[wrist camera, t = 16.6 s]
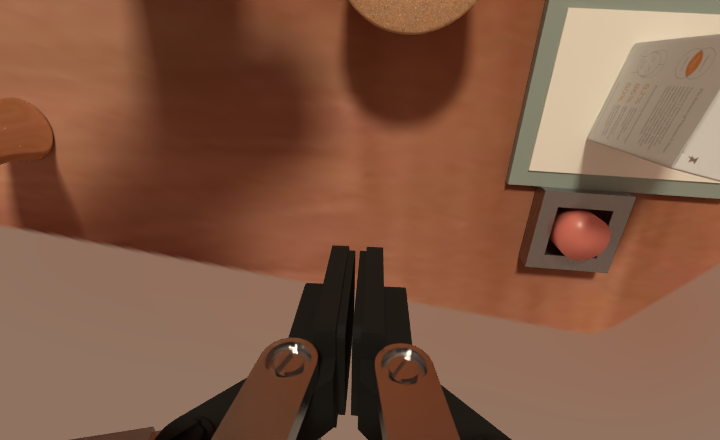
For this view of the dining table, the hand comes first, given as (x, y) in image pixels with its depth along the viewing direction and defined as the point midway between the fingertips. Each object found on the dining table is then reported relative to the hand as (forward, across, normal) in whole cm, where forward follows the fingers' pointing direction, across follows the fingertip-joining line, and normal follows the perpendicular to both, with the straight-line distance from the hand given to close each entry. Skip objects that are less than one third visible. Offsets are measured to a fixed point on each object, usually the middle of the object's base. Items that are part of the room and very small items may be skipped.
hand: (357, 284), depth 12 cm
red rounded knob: (+23, -20, +8) cm, 31 cm away
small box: (+23, -22, -4) cm, 32 cm away
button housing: (+23, -20, +8) cm, 32 cm away
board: (+24, -23, -4) cm, 33 cm away
